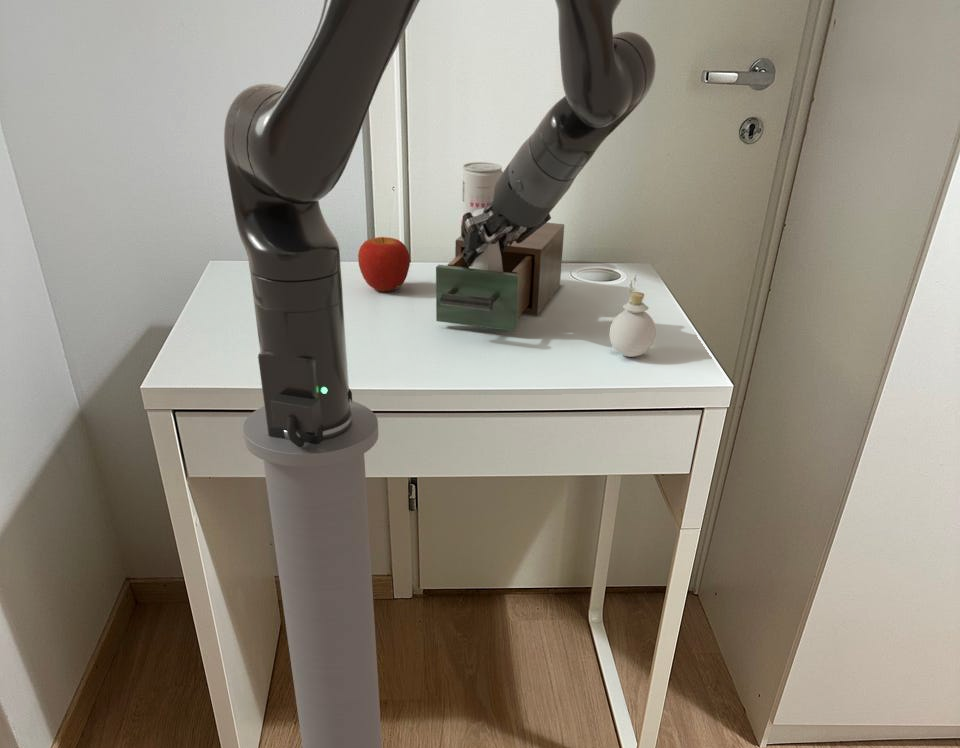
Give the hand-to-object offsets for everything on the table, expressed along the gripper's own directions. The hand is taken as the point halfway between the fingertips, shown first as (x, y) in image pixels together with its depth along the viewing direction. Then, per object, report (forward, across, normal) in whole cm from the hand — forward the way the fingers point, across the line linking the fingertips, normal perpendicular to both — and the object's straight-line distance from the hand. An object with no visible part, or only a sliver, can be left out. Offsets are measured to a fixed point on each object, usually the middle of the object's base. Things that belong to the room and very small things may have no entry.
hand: (477, 257), depth 127 cm
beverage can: (+22, -16, -9) cm, 29 cm away
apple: (+20, +4, -7) cm, 21 cm away
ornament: (-9, -10, +22) cm, 25 cm away
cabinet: (+10, -11, +2) cm, 15 cm away
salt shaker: (+3, 0, +6) cm, 7 cm away
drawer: (+4, 0, +7) cm, 8 cm away
